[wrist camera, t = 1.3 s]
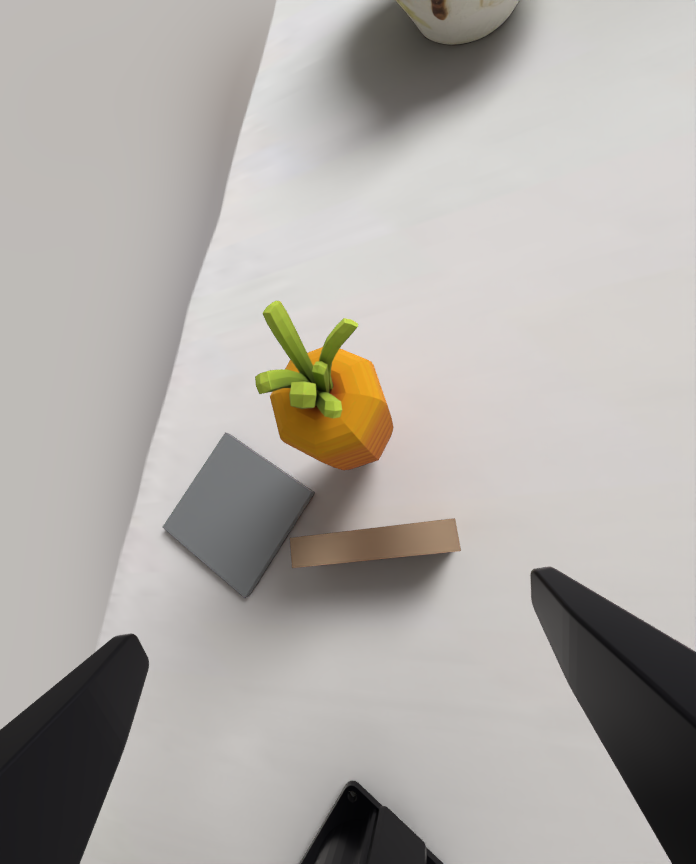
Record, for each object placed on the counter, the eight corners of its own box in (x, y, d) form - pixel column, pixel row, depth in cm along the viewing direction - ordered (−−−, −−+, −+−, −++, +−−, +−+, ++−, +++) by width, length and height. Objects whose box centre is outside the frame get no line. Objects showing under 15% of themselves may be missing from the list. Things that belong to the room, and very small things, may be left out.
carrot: (337, 410, 26) (219, 279, 12) (408, 413, 25) (372, 271, 11) (329, 481, 25) (190, 430, 11) (403, 487, 24) (356, 439, 10)
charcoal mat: (248, 596, 25) (244, 597, 24) (168, 527, 27) (162, 527, 26) (314, 492, 25) (311, 491, 25) (229, 434, 28) (225, 432, 27)
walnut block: (451, 518, 23) (455, 518, 19) (456, 545, 22) (460, 550, 19) (312, 535, 25) (290, 537, 21) (314, 560, 24) (292, 568, 20)
